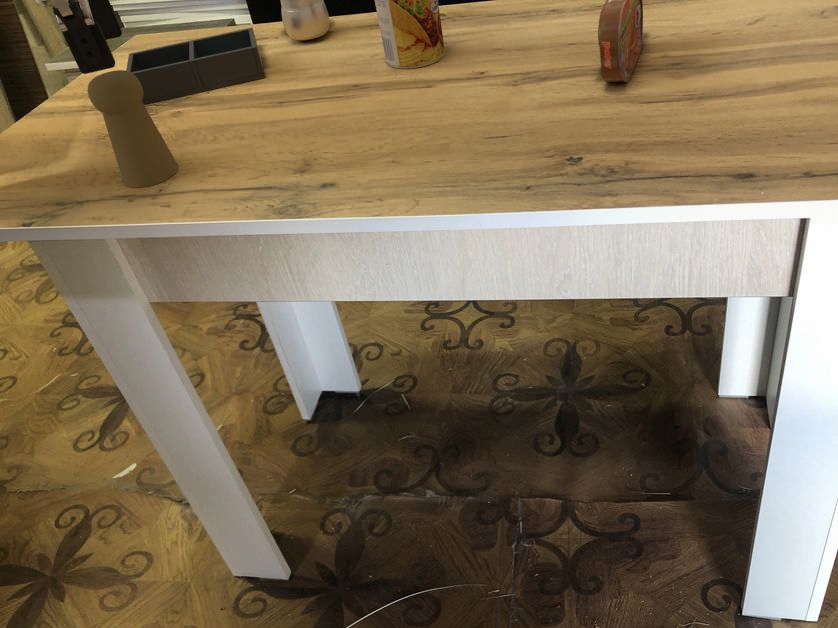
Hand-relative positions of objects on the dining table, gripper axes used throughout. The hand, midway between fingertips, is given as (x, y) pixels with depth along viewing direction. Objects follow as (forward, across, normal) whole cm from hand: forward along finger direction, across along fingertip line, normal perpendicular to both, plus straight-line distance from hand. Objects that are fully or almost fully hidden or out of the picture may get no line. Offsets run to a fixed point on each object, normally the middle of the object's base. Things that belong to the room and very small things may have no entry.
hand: (103, 53), depth 76 cm
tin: (+14, +1, +54) cm, 56 cm away
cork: (+13, 0, -1) cm, 13 cm away
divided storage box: (+13, -26, +5) cm, 30 cm away
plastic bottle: (+14, -34, +21) cm, 42 cm away
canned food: (+14, -17, +33) cm, 40 cm away
